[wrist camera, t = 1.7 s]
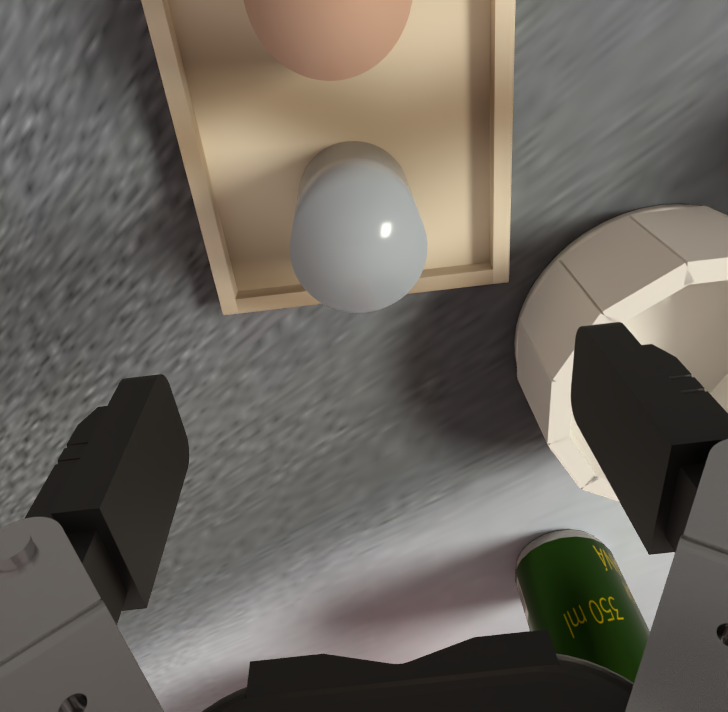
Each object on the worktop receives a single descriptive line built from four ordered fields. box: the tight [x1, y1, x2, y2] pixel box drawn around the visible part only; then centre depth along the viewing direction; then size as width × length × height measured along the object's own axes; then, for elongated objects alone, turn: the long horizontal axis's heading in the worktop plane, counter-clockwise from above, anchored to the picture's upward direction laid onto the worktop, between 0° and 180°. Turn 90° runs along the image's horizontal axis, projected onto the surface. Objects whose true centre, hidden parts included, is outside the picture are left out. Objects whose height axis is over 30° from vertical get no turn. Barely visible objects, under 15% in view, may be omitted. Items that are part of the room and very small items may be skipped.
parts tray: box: [141, 0, 515, 315], centre depth 20 cm, size 14×11×1 cm
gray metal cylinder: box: [290, 141, 427, 313], centre depth 20 cm, size 4×4×5 cm
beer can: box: [515, 530, 650, 683], centre depth 29 cm, size 5×5×12 cm
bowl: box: [514, 204, 728, 502], centre depth 24 cm, size 11×11×5 cm
